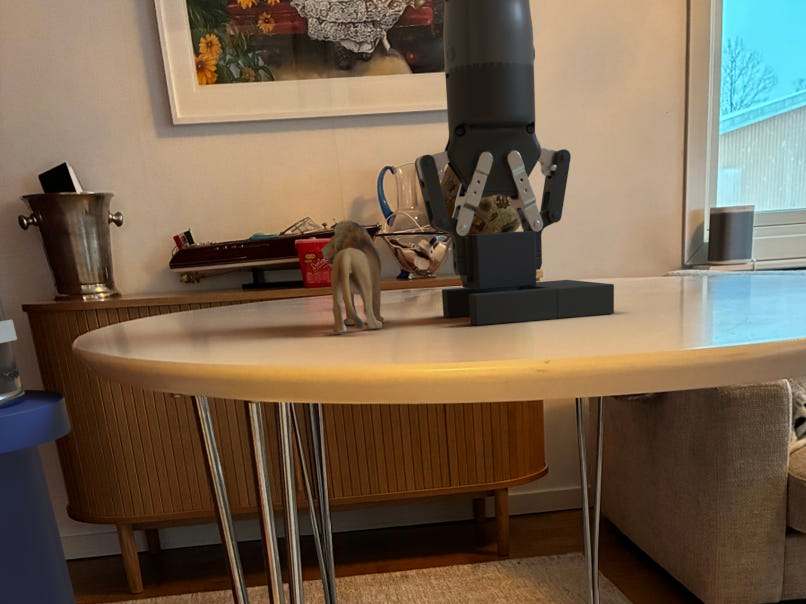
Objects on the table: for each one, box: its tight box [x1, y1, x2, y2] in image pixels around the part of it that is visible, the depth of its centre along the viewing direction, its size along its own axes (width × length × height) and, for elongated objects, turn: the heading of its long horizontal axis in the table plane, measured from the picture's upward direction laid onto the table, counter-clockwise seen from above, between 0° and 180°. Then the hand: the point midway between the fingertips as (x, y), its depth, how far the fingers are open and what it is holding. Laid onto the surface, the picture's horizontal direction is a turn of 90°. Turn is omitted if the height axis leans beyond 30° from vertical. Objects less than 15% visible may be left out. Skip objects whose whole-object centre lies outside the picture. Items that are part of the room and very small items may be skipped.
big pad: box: [441, 279, 615, 326], centre depth 89 cm, size 13×11×2 cm
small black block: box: [461, 230, 537, 290], centre depth 87 cm, size 5×5×4 cm
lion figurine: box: [320, 219, 385, 334], centre depth 86 cm, size 15×5×9 cm, turn 10°
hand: (498, 278), depth 87 cm, fingers closed on small black block, 5 cm apart
